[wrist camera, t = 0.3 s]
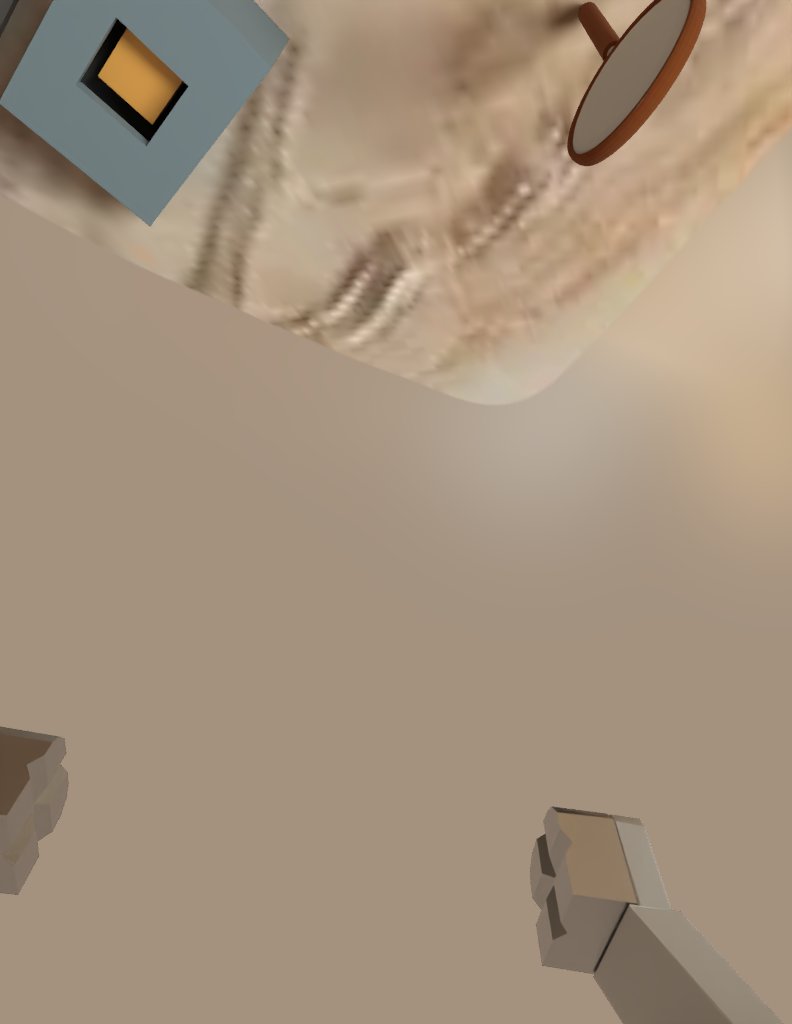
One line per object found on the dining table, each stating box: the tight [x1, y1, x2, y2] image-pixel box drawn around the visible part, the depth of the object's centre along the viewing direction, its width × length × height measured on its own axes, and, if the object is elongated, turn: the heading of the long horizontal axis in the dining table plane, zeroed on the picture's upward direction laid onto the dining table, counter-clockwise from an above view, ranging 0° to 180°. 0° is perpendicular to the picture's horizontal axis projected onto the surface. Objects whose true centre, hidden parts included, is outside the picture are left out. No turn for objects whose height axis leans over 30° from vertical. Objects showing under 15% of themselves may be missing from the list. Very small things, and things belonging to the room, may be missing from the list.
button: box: [98, 28, 184, 125], centre depth 47 cm, size 4×4×3 cm
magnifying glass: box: [567, 0, 706, 166], centre depth 39 cm, size 9×2×20 cm, turn 149°
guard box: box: [0, 0, 289, 226], centre depth 47 cm, size 14×11×7 cm
